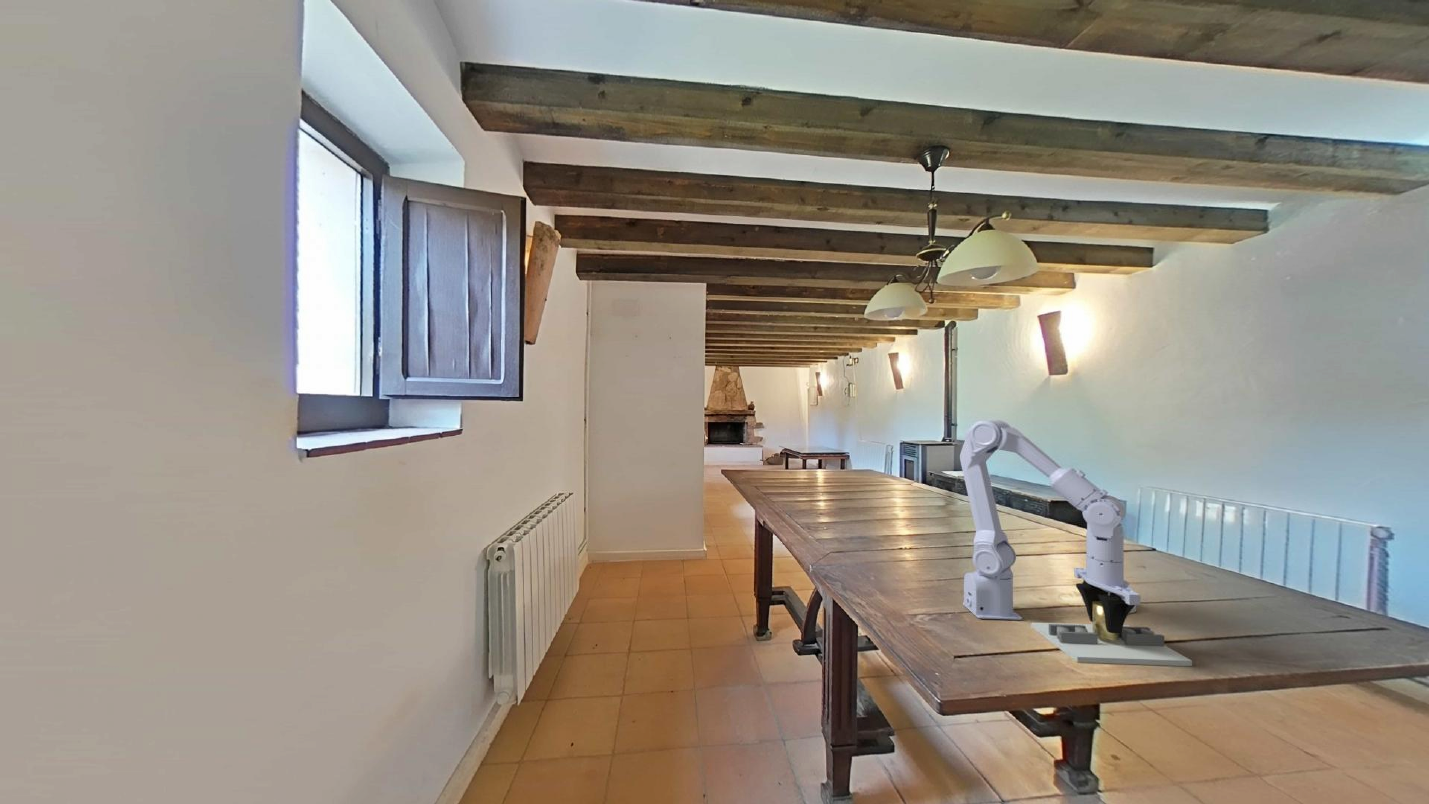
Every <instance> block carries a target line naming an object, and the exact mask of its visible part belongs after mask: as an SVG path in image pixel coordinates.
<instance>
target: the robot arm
mask: <svg viewBox="0 0 1429 804" xmlns="http://www.w3.org/2000/svg"><path fill="white" fill-rule="evenodd" d="M998 450H999V451H1005V452H1010V453H1015V454H1016V455H1018V456H1019V457H1020V458H1022V459H1023V460H1024V461H1026V462H1027V463H1028V464H1030V465H1031V466H1032V467H1034V468H1035V469H1036V470H1037V471H1039V472H1041V473H1042V474H1043V475H1044V476H1045V477H1047V478H1048V480H1049V487H1050V488H1051V489H1052V490H1054V491H1055V492H1056V493H1057V494H1058V495H1060V496H1061V497H1062V498H1063V499H1064V500H1066V501H1067V502H1068V503H1069V504H1070V505H1071V506H1072V507H1074V508H1076V510H1078V511H1081V512H1082V517H1083V519H1084V520H1085V523H1086V528H1087V529H1086V530H1087V532H1086V535H1085V537H1086V541H1085V543H1086V544H1085V545H1086V549H1085V550H1086V552H1085V554H1086V556H1085V557H1086V558H1085V559H1086V560H1085V561H1086V564H1085V565H1086V567H1085V568H1084V567H1074V568H1073V572H1074V573H1073V577H1074V578H1076V579H1079V580H1080V579H1081V580H1083V581H1082V583H1081V582H1079V583H1078V582H1077V583H1076V584H1075V587H1076V588H1077V591H1078V592H1079V594H1080V595H1081V599H1082V598H1083V600H1084V601H1083V600H1082V601H1083V602H1084V605H1085V609H1086V611H1087V615H1088V618H1089V621H1090V622H1092V623H1093V615H1092V602H1093V601H1101V604H1102V606H1103V610H1104V614H1105V624H1106V629H1107V631H1108V632H1109V633H1121V630H1122V627H1123V625H1125V621H1126V619H1127V617H1128V615H1129V614H1130V613H1129V612H1130V611H1131V610H1132V608H1133V607H1134V606H1135V605H1136V606H1141V594H1140V593H1137V592H1136V591H1134V589H1132V588H1131V587H1129V585H1130V582H1129V581H1127V580H1124V579H1125V578H1124V572H1125V571H1124V569H1125V568H1124V564H1125V563H1124V558H1125V557H1124V553H1125V552H1124V541H1125V540H1124V536H1123V533H1124V529H1123V524H1122V523H1121V522H1122V521H1123V520H1124V518H1125V516H1126V509H1125V506H1124V505H1123V503H1122V502H1121V501H1120V500H1119V499H1118V498H1117V497H1115V496H1113V495H1108V494H1109V493H1108V491H1107V490H1105V489H1102V490H1101V489H1100V488H1099V487H1097V485H1095V484H1094V483H1092V482H1091V481H1090V480H1088V479H1087V478H1086V477H1085V476H1086V473H1085V472H1084V471H1082V470H1076V469H1074V468H1072V467H1062V466H1061V465H1059V464H1058V463H1057V462H1056V461H1055V460H1054V459H1053V458H1051V457H1050V456H1049V455H1047V454H1046V453H1045V452H1044V451H1043V450H1042V449H1041V448H1040V447H1038V446H1037V445H1036V444H1034V443H1033V441H1031V440H1030V439H1029V438H1028V437H1027V436H1025V435H1024V434H1023V433H1022V432H1021V431H1019V430H1018V429H1016V427H1015V428H1014V427H1012V426H1011V425H1010V424H1009V423H1007V422H1006V421H1004V420H1001V419H992V420H979V421H976V422H974V423H973V424H972V425H971V427H969V428H968V430H967V431H966V432H965V439H964V443H963V445H962V447H961V450H960V454H959V461H960V465H961V470H962V473H963V479H964V484H965V487H966V493H967V497H968V500H969V501H968V502H969V505H970V510H971V514H972V519H973V524H974V529H975V535H974V539H973V548H974V549H973V554H972V563H973V565H974V567H975V569H976V570H974V571H973V572H967V573H965V575H964V577H963V602H962V605H963V606H964V607H965V608H966V609H967V610H969V611H970V613H972V614H973V615H974V616H975V617H976V618H978V619H984V620H985V619H988V620H1013V621H1020V620H1021V621H1022V619H1023V617H1022V616H1021V615H1020V614H1018V613H1016V612H1015V611H1014V600H1013V599H1014V572H1013V571H1012V569H1011V567H1013V566H1014V565H1015V563H1016V559H1017V555H1016V552H1015V549H1014V547H1012V545H1011V544H1010V543H1009V539H1008V535H1007V534H1006V533H1005V531H1003V529H1002V526H1001V522H1000V517H999V514H998V509H997V504H996V499H995V496H994V492H993V487H992V484H991V483H992V482H991V479H990V474H989V469H988V466H987V462H988V460H989V459H990V458H991V456H993V455H994V453H995V452H996V451H998ZM1108 594H1109V595H1110V596H1109V595H1108Z"/></svg>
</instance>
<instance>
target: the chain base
mask: <svg viewBox="0 0 1429 804" xmlns="http://www.w3.org/2000/svg"><path fill="white" fill-rule="evenodd" d="M1030 627H1031V628H1032V629H1033V630H1034V629H1035V630H1034V631H1036V633H1038V632H1039V633H1038V634H1039V635H1040V636H1042V635H1043V636H1042V637H1044V638H1045V639H1046V640H1047V641H1048V642H1050V643H1052V644H1053V645H1054V646H1055V647H1057V649H1058V650H1060V651H1062V652H1063V653H1064V654H1066V655H1067V656H1068V657H1070V658H1071V659H1072V660H1074V661H1075V662H1076V663H1082V664H1083V663H1086V664H1116V665H1117V664H1118V665H1119V664H1120V665H1139V666H1140V665H1141V666H1143V665H1144V666H1145V665H1146V666H1147V665H1148V666H1175V667H1193V661H1192V660H1191V659H1189V658H1188V657H1186V656H1184V655H1183V654H1180V653H1179V652H1177V651H1175V650H1173V649H1172V648H1170V647H1168V646H1166V645H1165V636H1164V635H1162V634H1156V633H1155V632H1154V631H1153V630H1151V628H1150V627H1148V626H1131V625H1127V624H1123V627H1122V630H1121V633H1119V639H1118V640H1107V639H1103V638H1100V637H1098V634H1097V633H1093V623H1090V624H1089V623H1063V622H1062V623H1061V622H1030Z"/></svg>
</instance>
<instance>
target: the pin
mask: <svg viewBox="0 0 1429 804" xmlns="http://www.w3.org/2000/svg"><path fill="white" fill-rule="evenodd" d="M1092 615H1093V622H1092V624H1093V633H1097V634H1098V637H1100V638H1103V639H1107V640H1118V639H1119V633H1109V632H1108V631H1107V629H1106V624H1105V614H1104V610H1103V606H1102V604H1101V601H1093V602H1092Z"/></svg>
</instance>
